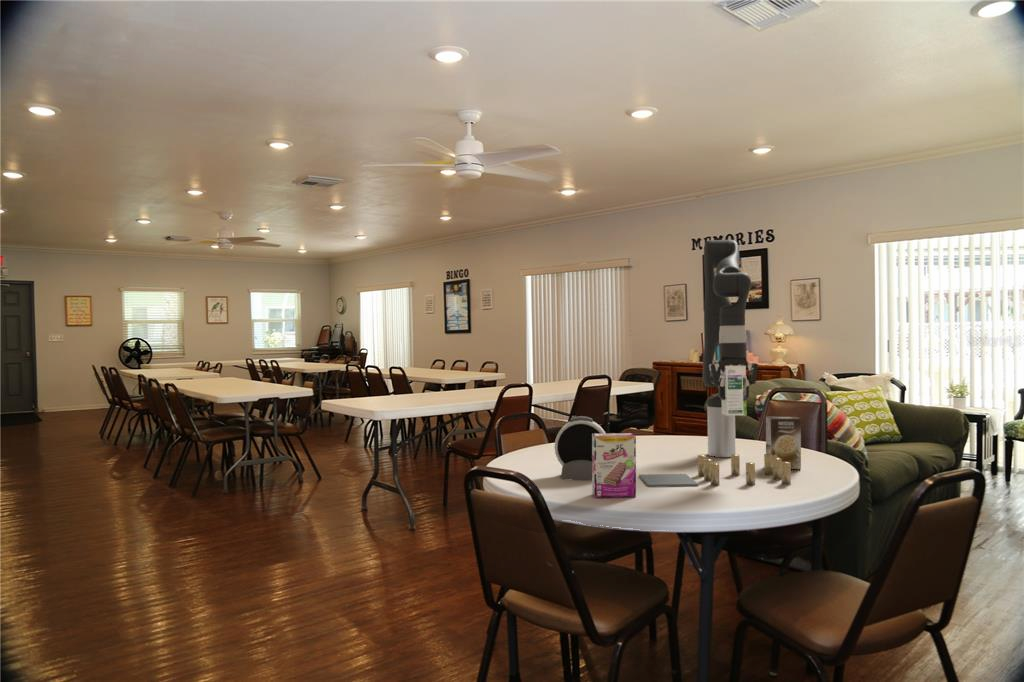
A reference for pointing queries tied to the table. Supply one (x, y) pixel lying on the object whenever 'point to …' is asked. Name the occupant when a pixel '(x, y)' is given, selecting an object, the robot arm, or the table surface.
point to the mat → (668, 480)
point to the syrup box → (735, 391)
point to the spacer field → (770, 467)
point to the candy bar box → (614, 465)
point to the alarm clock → (576, 447)
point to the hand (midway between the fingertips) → (733, 399)
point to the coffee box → (784, 439)
